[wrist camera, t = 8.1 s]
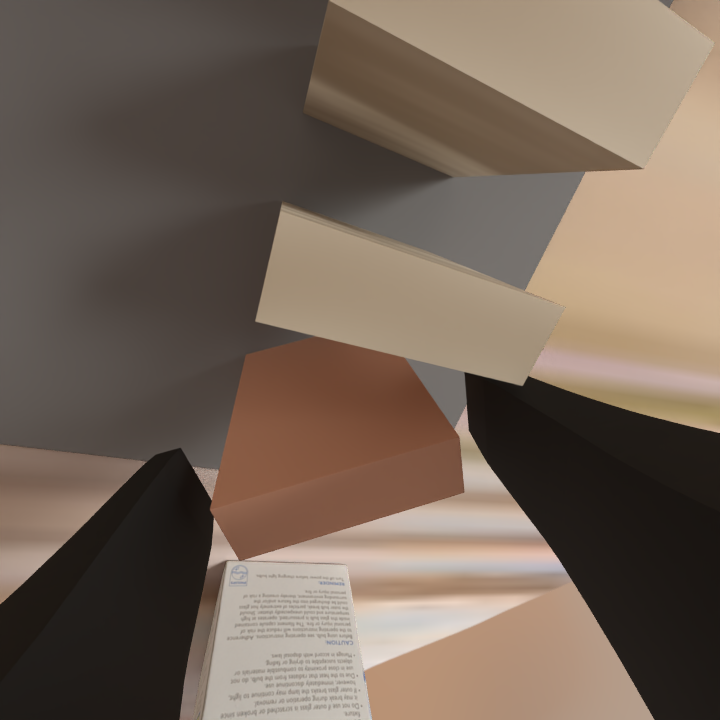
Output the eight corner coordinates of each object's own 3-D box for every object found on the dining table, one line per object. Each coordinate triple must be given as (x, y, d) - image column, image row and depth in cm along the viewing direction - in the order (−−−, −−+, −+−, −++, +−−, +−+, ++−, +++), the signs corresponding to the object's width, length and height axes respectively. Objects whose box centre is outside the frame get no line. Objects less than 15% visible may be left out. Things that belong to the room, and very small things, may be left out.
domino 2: (282, 200, 11) (280, 210, 5) (425, 250, 12) (565, 306, 6) (270, 252, 12) (255, 321, 5) (408, 293, 13) (522, 385, 7)
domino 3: (245, 354, 13) (209, 510, 7) (378, 319, 13) (459, 436, 7) (260, 391, 14) (239, 560, 8) (385, 357, 14) (464, 492, 8)
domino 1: (318, 45, 10) (378, -210, 3) (474, 122, 11) (715, 42, 5) (302, 113, 10) (330, 1, 4) (453, 177, 12) (644, 169, 5)
